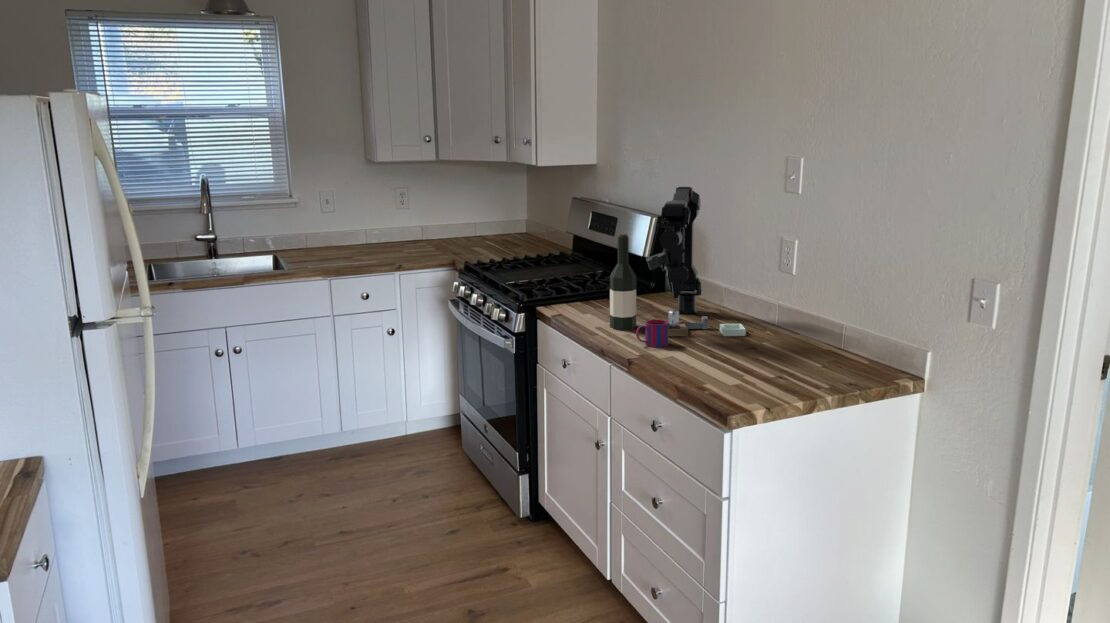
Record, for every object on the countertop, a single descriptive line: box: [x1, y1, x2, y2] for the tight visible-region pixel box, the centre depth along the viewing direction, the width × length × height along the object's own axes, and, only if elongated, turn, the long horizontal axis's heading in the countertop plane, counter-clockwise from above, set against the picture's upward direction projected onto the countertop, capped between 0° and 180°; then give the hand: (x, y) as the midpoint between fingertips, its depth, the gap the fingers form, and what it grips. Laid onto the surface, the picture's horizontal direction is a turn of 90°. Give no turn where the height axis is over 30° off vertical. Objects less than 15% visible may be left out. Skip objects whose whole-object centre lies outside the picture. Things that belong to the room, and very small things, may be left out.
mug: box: [635, 318, 669, 348], centre depth 240 cm, size 7×10×7 cm
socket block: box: [668, 320, 689, 337], centre depth 254 cm, size 11×8×2 cm
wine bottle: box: [609, 232, 637, 331], centre depth 257 cm, size 8×8×30 cm
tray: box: [719, 323, 747, 337], centre depth 251 cm, size 7×7×2 cm
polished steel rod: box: [667, 309, 680, 329], centre depth 252 cm, size 3×3×7 cm
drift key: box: [679, 315, 709, 330], centre depth 257 cm, size 3×12×3 cm, turn 89°
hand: (674, 295), depth 250 cm, fingers open, 8 cm apart
